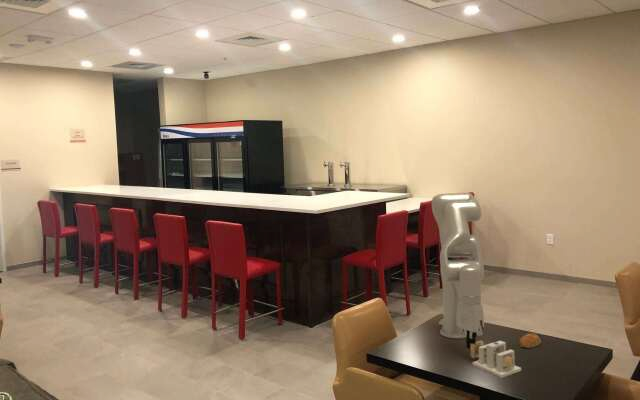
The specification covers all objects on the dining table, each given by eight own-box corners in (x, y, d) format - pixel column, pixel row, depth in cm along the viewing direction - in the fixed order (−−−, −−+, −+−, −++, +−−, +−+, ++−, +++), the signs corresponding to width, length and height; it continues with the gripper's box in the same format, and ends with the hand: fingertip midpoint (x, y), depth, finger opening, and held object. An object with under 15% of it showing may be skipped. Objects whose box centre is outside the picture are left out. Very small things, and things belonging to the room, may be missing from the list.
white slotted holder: (472, 365, 185) (472, 340, 184) (491, 358, 190) (491, 335, 189) (501, 377, 173) (501, 352, 173) (521, 370, 178) (521, 345, 178)
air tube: (470, 356, 188) (470, 343, 188) (480, 353, 191) (480, 340, 190) (505, 371, 175) (505, 357, 174) (515, 367, 177) (515, 353, 177)
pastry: (531, 350, 196) (531, 341, 196) (514, 346, 201) (514, 337, 200) (542, 344, 202) (541, 334, 202) (525, 340, 207) (525, 330, 207)
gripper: (448, 296, 194) (449, 343, 196) (478, 305, 181) (479, 356, 183) (462, 293, 198) (463, 339, 199) (493, 302, 185) (493, 351, 186)
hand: (471, 347), depth 191 cm, fingers closed
